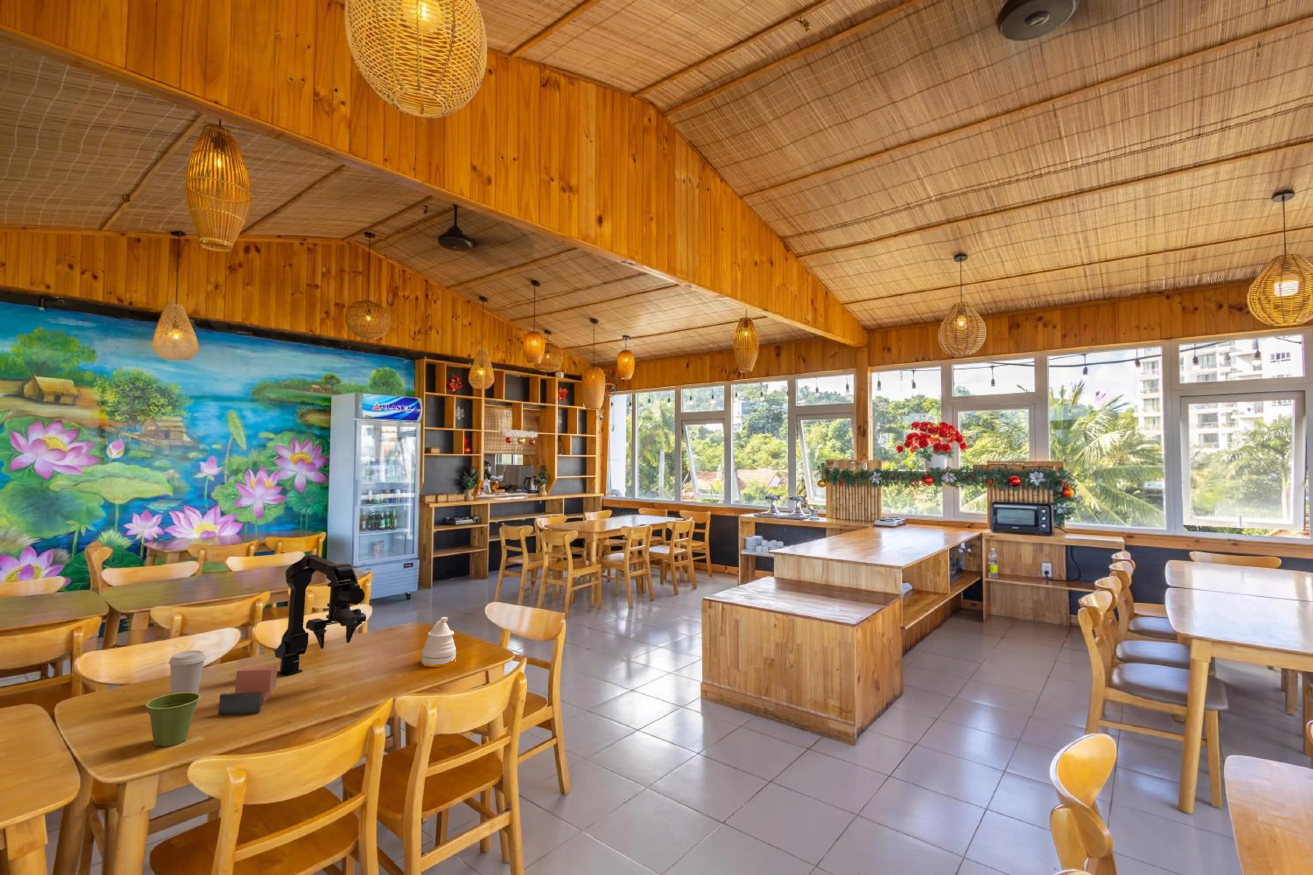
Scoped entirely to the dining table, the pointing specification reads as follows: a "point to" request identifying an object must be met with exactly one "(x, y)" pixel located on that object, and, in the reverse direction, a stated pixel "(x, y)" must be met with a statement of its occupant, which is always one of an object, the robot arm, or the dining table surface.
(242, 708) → the dark grey block
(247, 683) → the reddish brown stepped block
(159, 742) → the plant pot
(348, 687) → the dining table surface
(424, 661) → the honey pot
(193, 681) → the coffee cup
